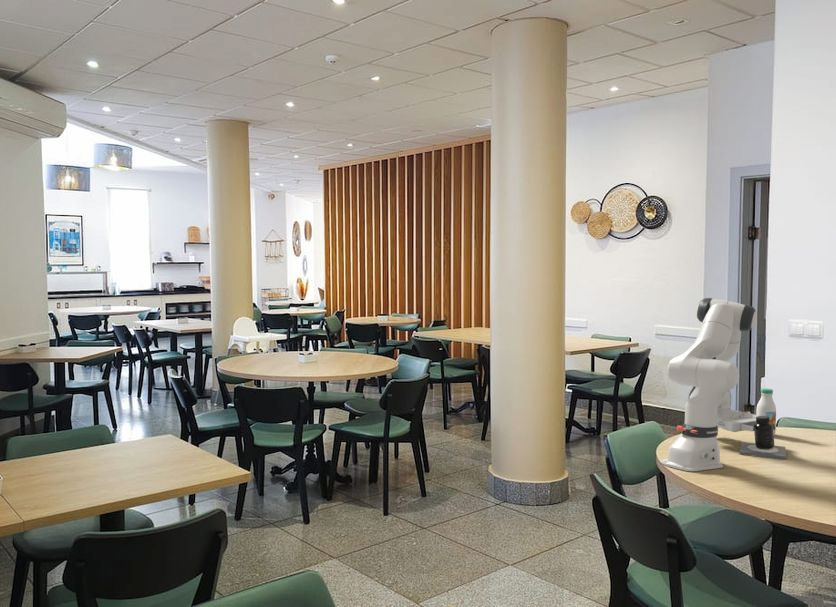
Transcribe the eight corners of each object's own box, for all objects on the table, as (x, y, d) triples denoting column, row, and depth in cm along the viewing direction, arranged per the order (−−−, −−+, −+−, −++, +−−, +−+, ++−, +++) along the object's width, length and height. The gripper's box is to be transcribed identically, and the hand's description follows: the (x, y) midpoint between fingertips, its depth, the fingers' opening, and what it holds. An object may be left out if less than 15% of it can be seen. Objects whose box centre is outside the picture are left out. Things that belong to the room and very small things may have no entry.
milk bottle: (757, 436, 299) (759, 390, 298) (753, 432, 306) (755, 387, 305) (777, 437, 297) (779, 391, 296) (772, 433, 304) (774, 388, 303)
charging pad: (786, 459, 263) (786, 456, 262) (739, 454, 270) (739, 450, 270) (785, 449, 277) (785, 446, 277) (740, 444, 284) (741, 441, 284)
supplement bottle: (751, 446, 276) (748, 417, 276) (764, 444, 278) (762, 414, 278) (765, 450, 269) (762, 419, 269) (778, 447, 272) (776, 416, 271)
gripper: (714, 415, 281) (743, 422, 269) (750, 411, 290) (779, 417, 278) (714, 430, 282) (743, 438, 269) (749, 425, 290) (779, 433, 278)
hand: (762, 428), depth 273 cm, fingers open, 8 cm apart
